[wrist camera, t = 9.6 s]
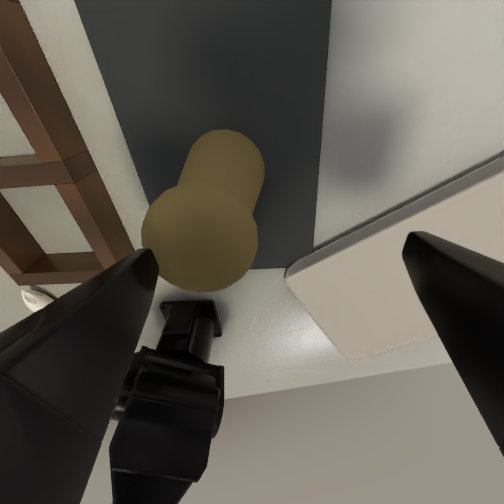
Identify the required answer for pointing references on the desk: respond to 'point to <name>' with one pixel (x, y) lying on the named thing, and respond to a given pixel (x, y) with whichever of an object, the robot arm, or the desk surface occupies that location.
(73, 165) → the brown wooden frame
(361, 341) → the book
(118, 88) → the mat
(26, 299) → the white rod
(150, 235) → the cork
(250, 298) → the desk surface
